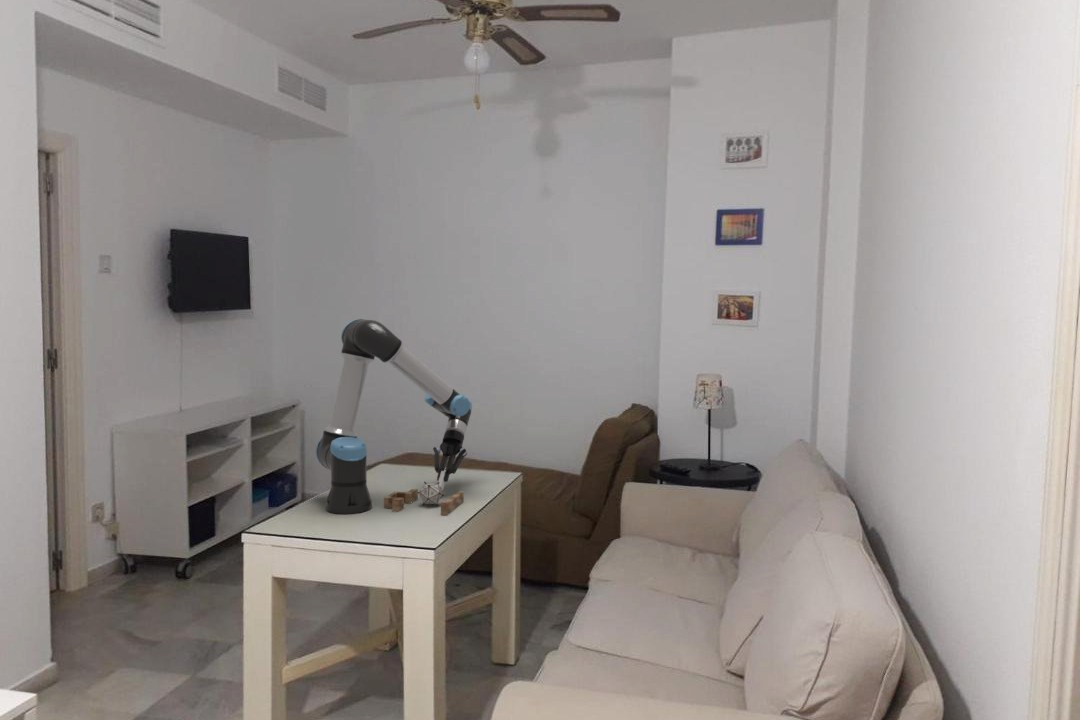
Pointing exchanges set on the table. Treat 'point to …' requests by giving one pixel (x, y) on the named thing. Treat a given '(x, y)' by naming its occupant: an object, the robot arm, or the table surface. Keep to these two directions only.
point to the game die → (430, 493)
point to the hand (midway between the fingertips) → (439, 488)
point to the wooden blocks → (399, 498)
